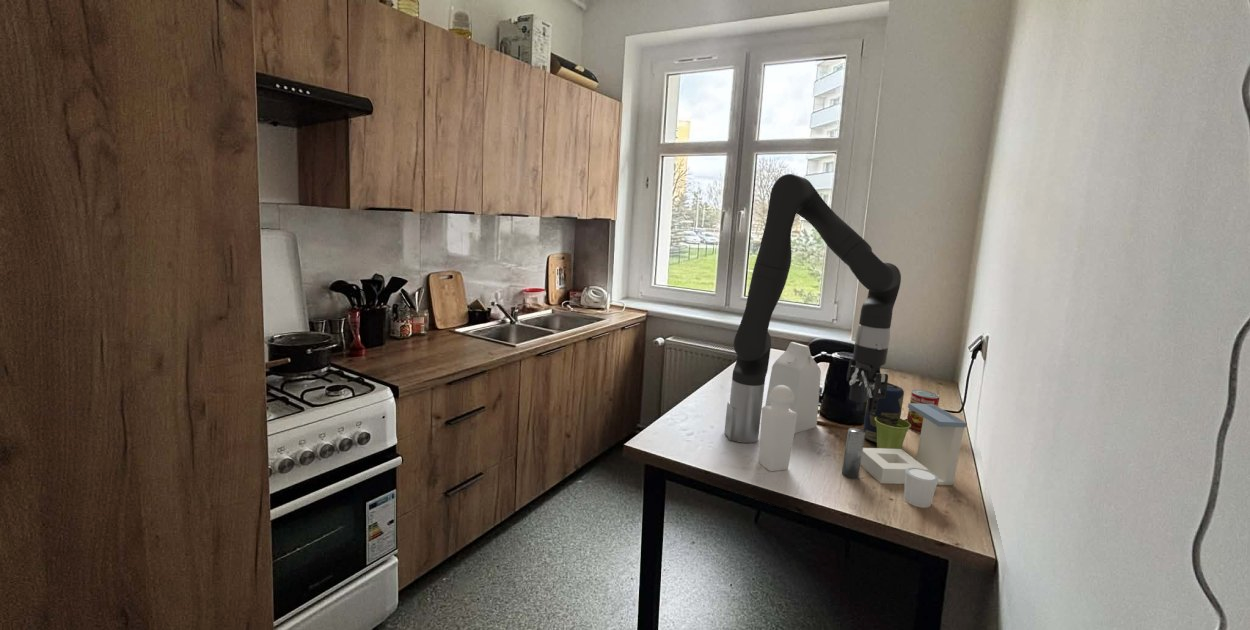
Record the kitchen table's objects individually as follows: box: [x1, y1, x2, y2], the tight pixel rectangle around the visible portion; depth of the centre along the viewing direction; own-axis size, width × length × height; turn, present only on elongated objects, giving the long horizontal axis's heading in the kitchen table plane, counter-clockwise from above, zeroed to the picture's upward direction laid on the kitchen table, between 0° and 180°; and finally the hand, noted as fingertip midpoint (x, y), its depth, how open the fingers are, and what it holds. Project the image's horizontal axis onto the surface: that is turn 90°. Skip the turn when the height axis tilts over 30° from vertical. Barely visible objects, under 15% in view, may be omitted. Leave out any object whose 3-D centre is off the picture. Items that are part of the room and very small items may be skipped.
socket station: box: [860, 402, 967, 486], centre depth 138 cm, size 19×13×17 cm
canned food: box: [906, 389, 940, 434], centre depth 171 cm, size 8×8×12 cm
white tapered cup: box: [903, 468, 938, 509], centre depth 125 cm, size 7×7×7 cm
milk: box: [764, 341, 822, 434], centre depth 167 cm, size 12×12×26 cm
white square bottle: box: [757, 385, 797, 472], centre depth 137 cm, size 6×6×22 cm
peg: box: [841, 427, 866, 480], centre depth 136 cm, size 4×4×12 cm
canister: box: [862, 382, 905, 444], centre depth 159 cm, size 10×10×18 cm
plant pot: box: [875, 417, 911, 449], centre depth 153 cm, size 9×9×9 cm
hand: (862, 405), depth 134 cm, fingers open, 8 cm apart
